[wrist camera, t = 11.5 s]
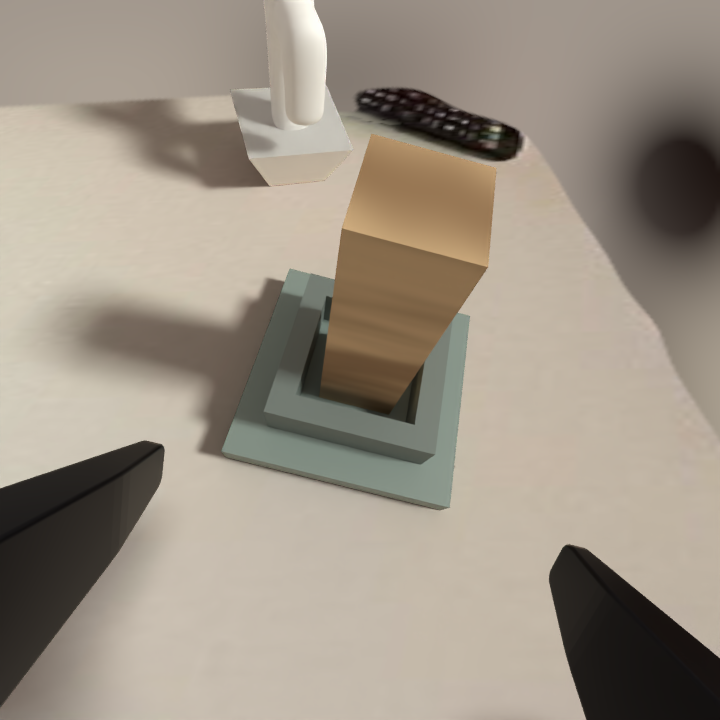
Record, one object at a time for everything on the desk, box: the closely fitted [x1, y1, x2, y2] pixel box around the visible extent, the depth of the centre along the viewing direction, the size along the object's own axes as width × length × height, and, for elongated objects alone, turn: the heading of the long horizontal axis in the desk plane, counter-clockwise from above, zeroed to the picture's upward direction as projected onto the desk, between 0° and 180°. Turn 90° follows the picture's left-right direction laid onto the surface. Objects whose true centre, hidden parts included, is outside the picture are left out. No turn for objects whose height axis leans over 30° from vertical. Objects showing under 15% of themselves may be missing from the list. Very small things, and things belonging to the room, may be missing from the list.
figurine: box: [230, 0, 353, 186], centre depth 25 cm, size 7×9×15 cm
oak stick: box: [319, 134, 496, 415], centre depth 17 cm, size 4×4×13 cm
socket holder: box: [222, 269, 470, 510], centre depth 23 cm, size 12×12×4 cm
